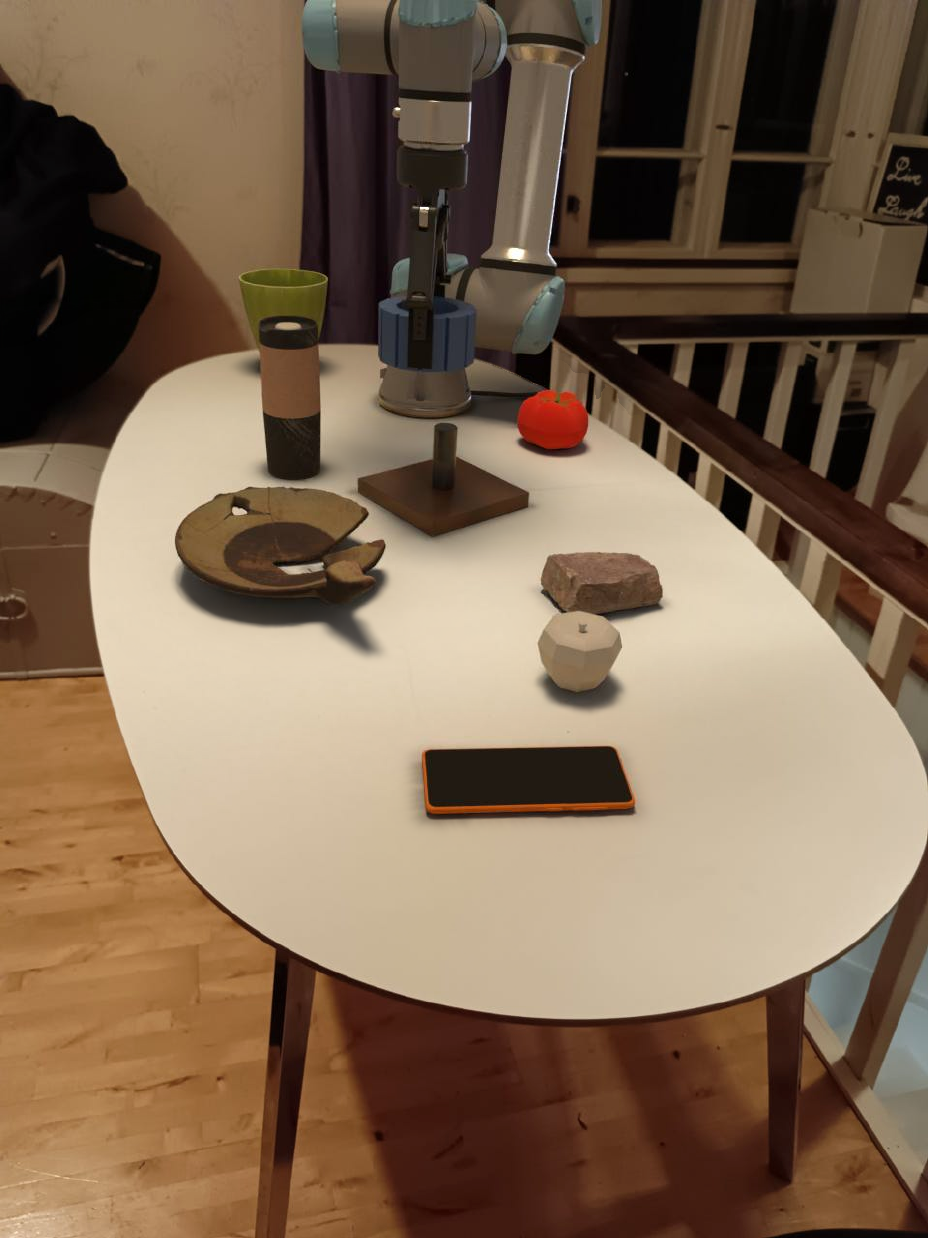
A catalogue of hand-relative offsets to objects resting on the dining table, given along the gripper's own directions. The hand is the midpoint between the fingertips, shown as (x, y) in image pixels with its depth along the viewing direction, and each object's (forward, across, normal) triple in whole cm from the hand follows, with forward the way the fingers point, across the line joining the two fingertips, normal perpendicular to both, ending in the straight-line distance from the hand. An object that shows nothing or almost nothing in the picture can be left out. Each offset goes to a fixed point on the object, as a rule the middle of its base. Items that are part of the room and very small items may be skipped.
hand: (425, 353), depth 112 cm
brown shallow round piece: (+21, +21, -12) cm, 32 cm away
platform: (+20, -4, +2) cm, 21 cm away
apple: (+21, +35, +19) cm, 45 cm away
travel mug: (+20, -10, -19) cm, 30 cm away
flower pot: (+20, -55, -31) cm, 66 cm away
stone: (+20, +18, +22) cm, 35 cm away
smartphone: (+21, +51, +15) cm, 57 cm away
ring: (+1, 0, 0) cm, 1 cm away
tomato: (+20, -28, +17) cm, 39 cm away
